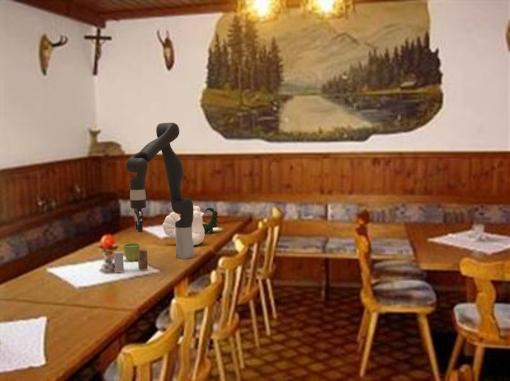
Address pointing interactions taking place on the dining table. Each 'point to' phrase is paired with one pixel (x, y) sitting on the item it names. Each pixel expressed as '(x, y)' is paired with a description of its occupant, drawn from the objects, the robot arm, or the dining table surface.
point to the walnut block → (142, 259)
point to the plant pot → (131, 251)
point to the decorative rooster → (196, 225)
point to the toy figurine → (213, 222)
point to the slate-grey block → (118, 261)
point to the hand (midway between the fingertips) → (139, 230)
